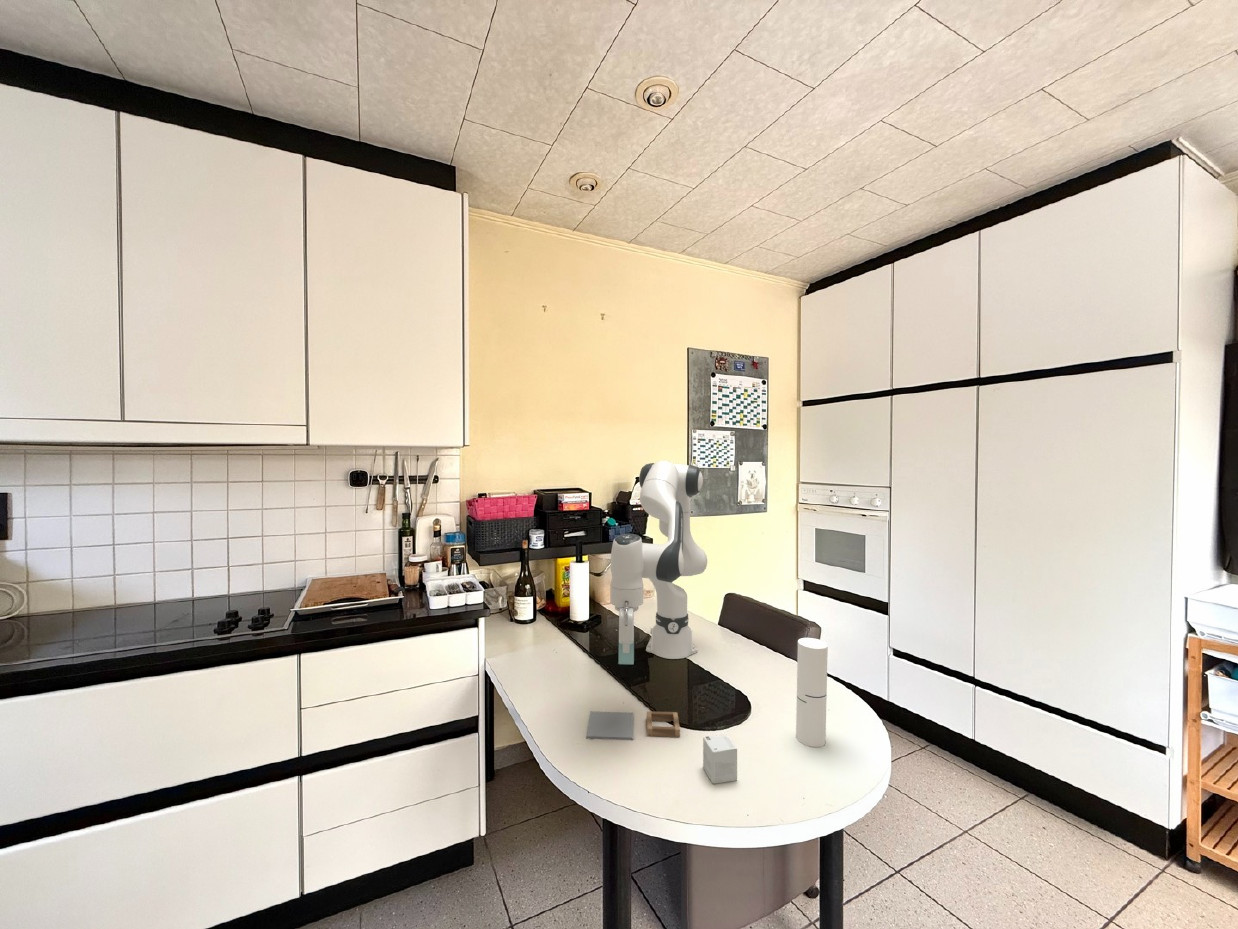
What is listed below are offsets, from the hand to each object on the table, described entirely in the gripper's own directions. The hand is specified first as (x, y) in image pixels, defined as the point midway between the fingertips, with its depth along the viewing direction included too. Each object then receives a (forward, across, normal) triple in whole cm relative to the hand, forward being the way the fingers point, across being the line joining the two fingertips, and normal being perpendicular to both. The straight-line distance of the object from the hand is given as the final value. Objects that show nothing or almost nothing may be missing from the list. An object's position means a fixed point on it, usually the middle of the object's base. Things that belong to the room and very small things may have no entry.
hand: (626, 647), depth 129 cm
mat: (+21, 0, +4) cm, 22 cm away
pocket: (+21, 0, -10) cm, 24 cm away
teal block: (+4, 0, 0) cm, 4 cm away
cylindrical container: (+22, -3, -48) cm, 53 cm away
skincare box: (+22, -18, -22) cm, 36 cm away
